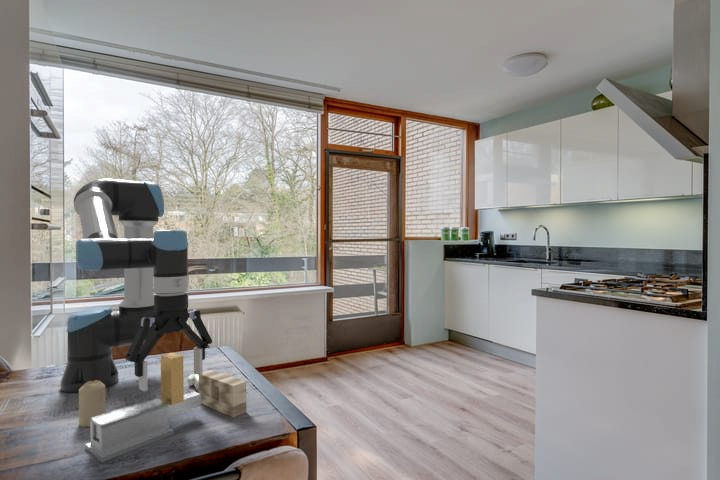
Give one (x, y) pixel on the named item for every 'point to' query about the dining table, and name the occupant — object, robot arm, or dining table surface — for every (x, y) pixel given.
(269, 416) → the dining table surface
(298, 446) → the dining table surface
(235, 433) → the dining table surface
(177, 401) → the tube
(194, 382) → the pipe fitting
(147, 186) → the robot arm
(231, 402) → the socket block
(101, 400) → the candle
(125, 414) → the sleeve
